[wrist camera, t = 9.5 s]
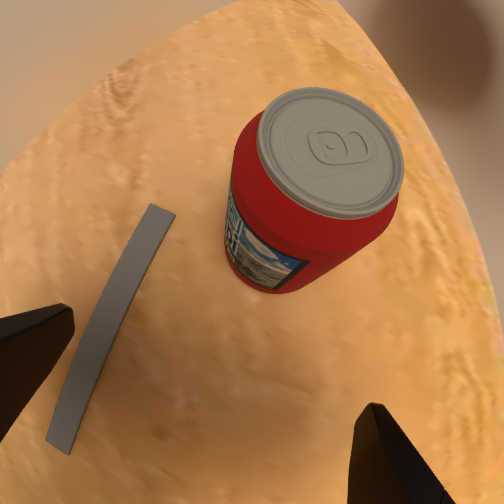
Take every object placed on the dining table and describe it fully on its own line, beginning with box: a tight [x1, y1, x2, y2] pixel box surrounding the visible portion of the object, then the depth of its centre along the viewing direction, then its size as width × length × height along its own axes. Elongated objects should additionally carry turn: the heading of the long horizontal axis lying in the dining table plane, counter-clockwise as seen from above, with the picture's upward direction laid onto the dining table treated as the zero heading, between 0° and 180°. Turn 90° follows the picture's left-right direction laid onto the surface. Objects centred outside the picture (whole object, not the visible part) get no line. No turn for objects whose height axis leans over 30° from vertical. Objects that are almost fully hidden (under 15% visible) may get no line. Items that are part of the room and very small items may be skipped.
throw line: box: [46, 203, 176, 455], centre depth 18 cm, size 19×2×1 cm, turn 157°
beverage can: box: [225, 87, 404, 294], centre depth 16 cm, size 7×7×12 cm
